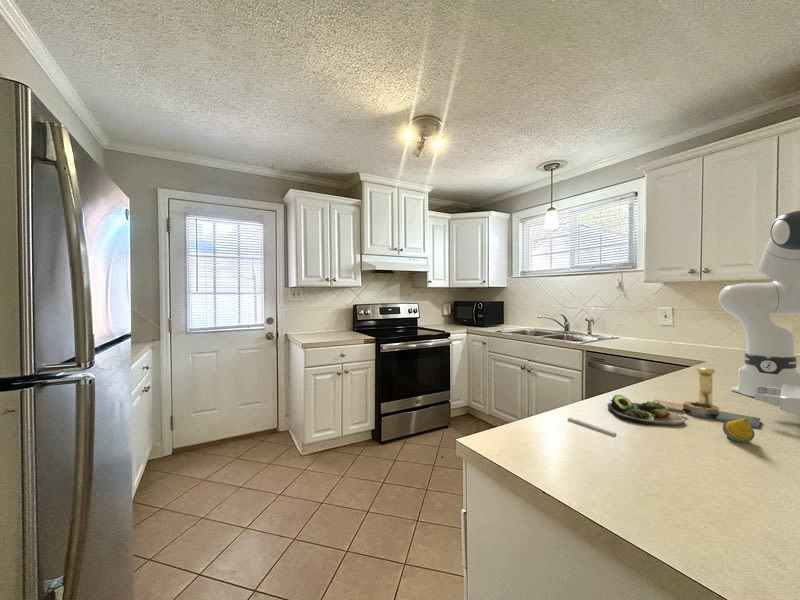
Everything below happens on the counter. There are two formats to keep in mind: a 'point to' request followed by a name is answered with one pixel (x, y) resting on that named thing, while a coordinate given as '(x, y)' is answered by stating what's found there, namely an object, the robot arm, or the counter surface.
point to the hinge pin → (705, 384)
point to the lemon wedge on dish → (738, 430)
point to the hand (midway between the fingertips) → (756, 392)
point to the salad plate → (644, 412)
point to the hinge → (707, 411)
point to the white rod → (592, 427)
